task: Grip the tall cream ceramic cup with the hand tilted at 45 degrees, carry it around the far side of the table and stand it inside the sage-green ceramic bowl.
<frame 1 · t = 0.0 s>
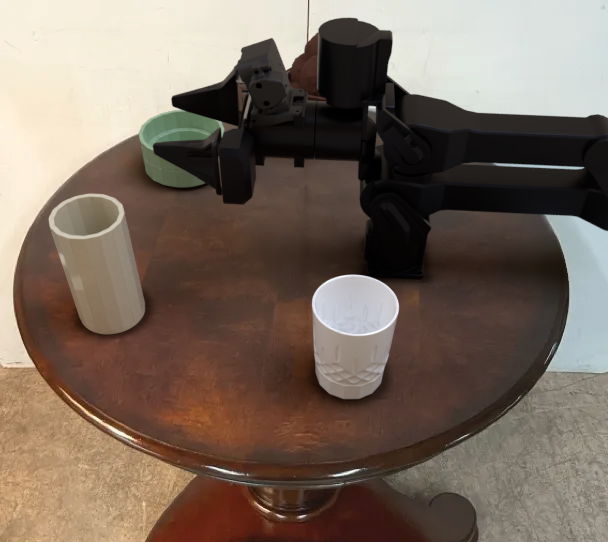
hand: (163, 123, 71), 17 cm above the table, tool horizontal, fingers open, 9 cm apart
sage bowl: (186, 167, 94), on the table
cream cup: (113, 311, 76), on the table
ice cream bowl: (321, 142, 99), on the table
white cup: (348, 375, 70), on the table
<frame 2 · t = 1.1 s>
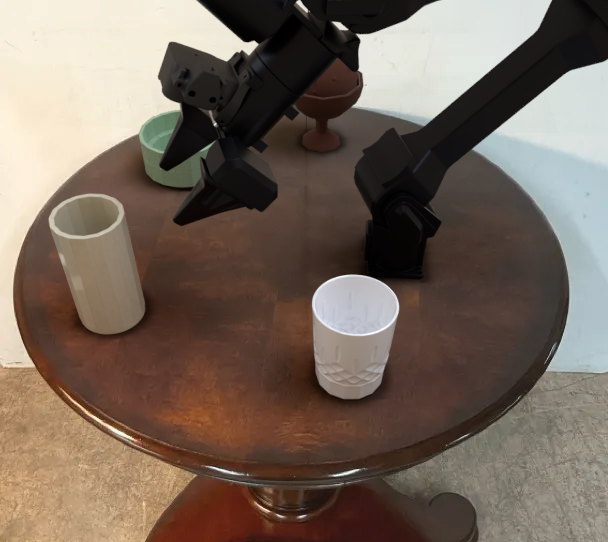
hand: (169, 194, 67), 14 cm above the table, tool tilted 45°, fingers open, 9 cm apart
nothing on the table moved.
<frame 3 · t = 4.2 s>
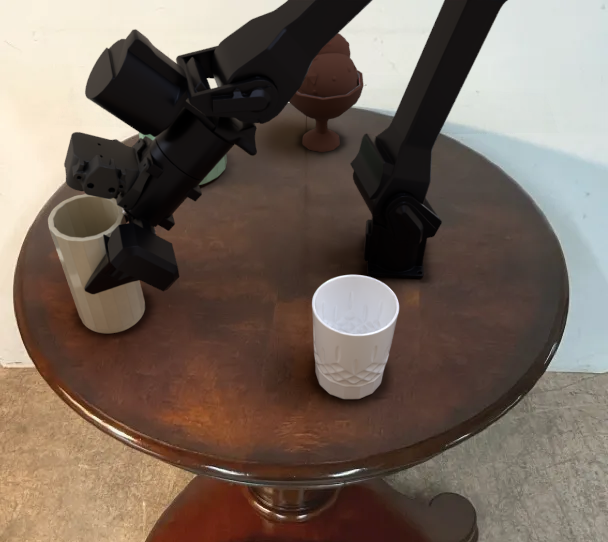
hand: (85, 267, 70), 7 cm above the table, tool tilted 45°, fingers closed on cream cup, 7 cm apart
cream cup: (112, 309, 76), on the table, touching gripper
everything else where it was.
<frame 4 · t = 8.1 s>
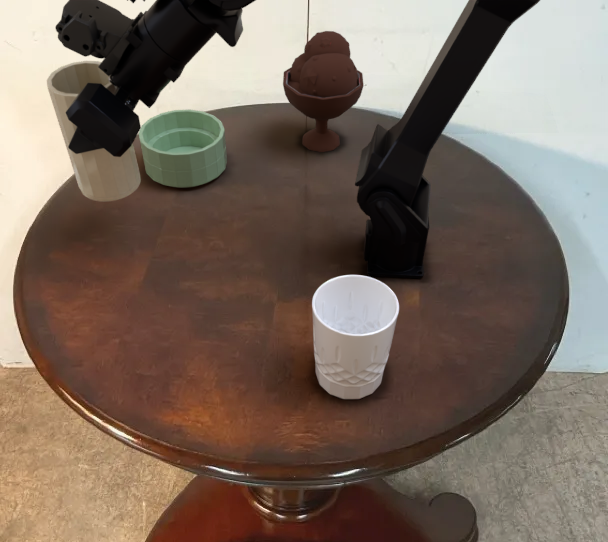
hand: (84, 131, 75), 13 cm above the table, tool tilted 45°, fingers closed on cream cup, 7 cm apart
cream cup: (110, 182, 80), point 7 cm above the table, touching gripper
everything else where it was.
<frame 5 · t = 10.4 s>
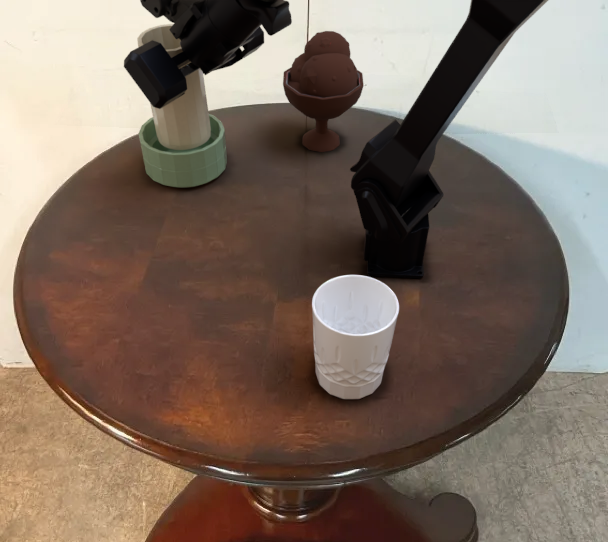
hand: (167, 84, 86), 12 cm above the table, tool tilted 45°, fingers closed on cream cup, 7 cm apart
cream cup: (184, 135, 91), point 5 cm above the table, touching gripper
everything else where it was.
when the fingers open (7 cm above the table, at t = 12.2 s): cream cup stays where it is, resting on sage bowl.
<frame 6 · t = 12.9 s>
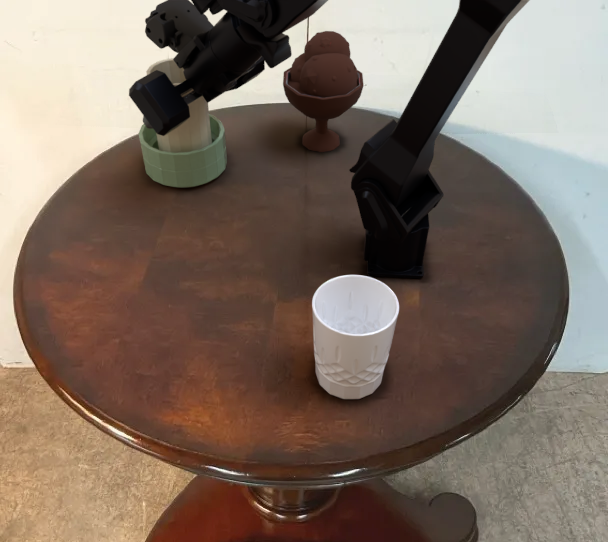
hand: (170, 109, 89), 8 cm above the table, tool tilted 45°, fingers open, 9 cm apart
cream cup: (187, 163, 94), point 1 cm above the table, touching sage bowl
everything else where it was.
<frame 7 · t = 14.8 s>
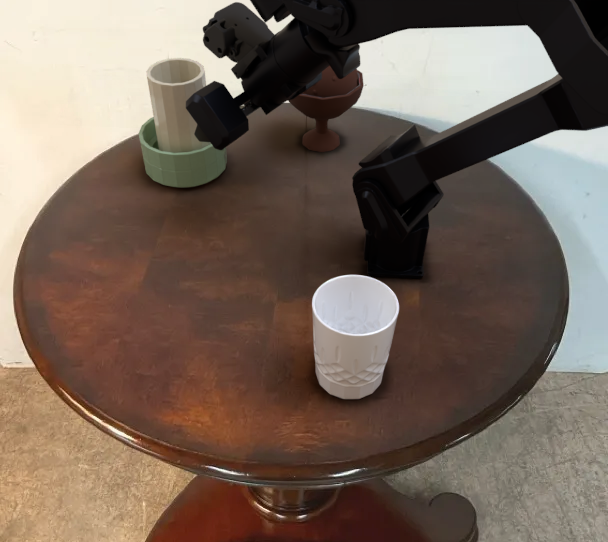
hand: (222, 120, 85), 9 cm above the table, tool tilted 45°, fingers open, 9 cm apart
nothing on the table moved.
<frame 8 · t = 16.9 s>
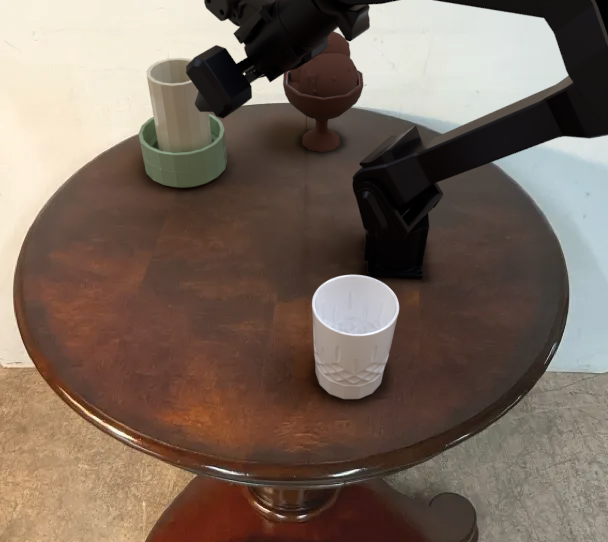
hand: (223, 91, 81), 14 cm above the table, tool tilted 45°, fingers open, 9 cm apart
nothing on the table moved.
at the end: cream cup 0.2 cm off-centre in the sage bowl, point 0.6 cm above the sage bowl's base; cream cup tilted 0°; the gripper is holding nothing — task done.
